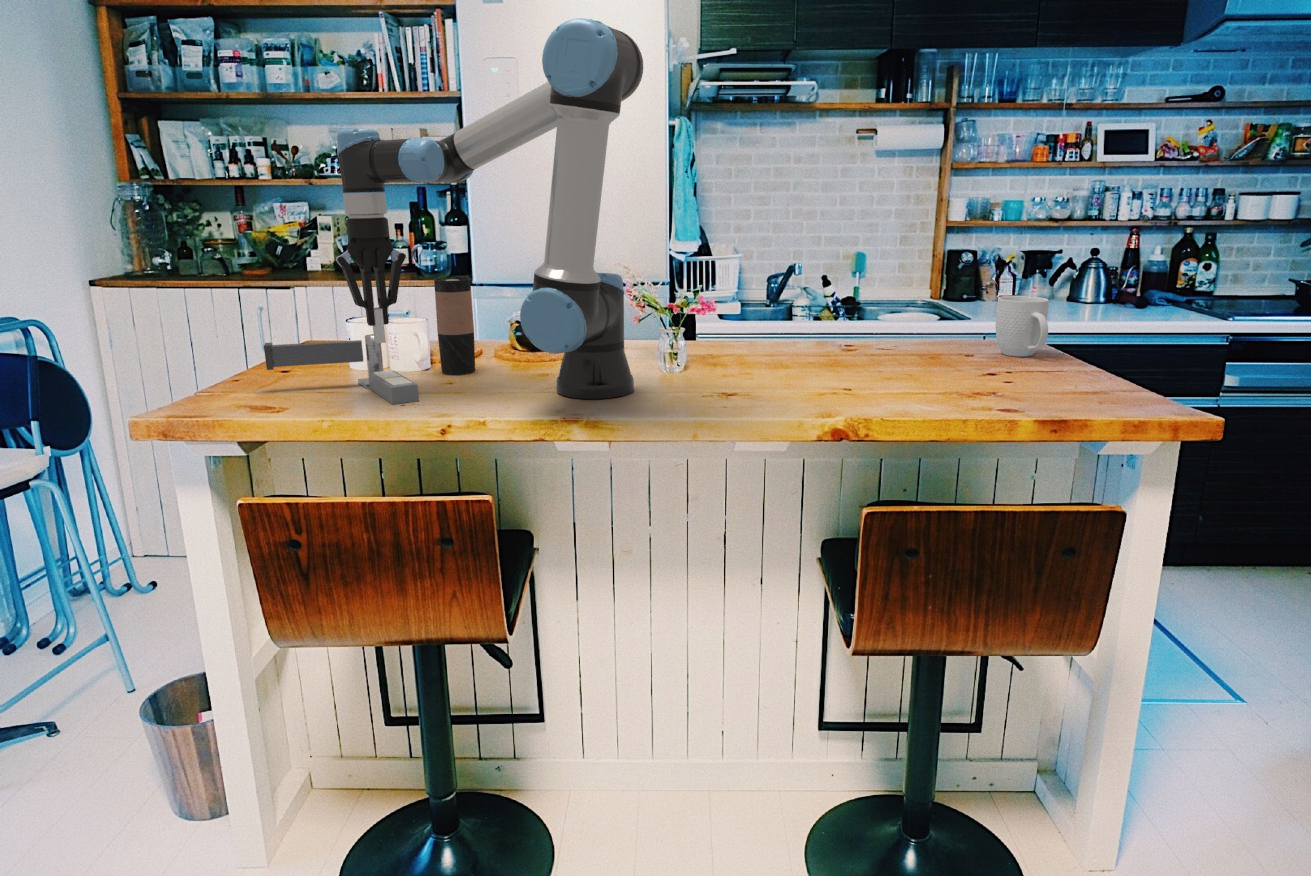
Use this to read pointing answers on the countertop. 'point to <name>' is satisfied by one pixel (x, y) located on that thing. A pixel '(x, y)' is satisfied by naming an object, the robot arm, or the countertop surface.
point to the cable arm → (312, 353)
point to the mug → (1021, 324)
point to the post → (372, 358)
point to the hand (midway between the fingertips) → (380, 341)
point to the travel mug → (455, 325)
